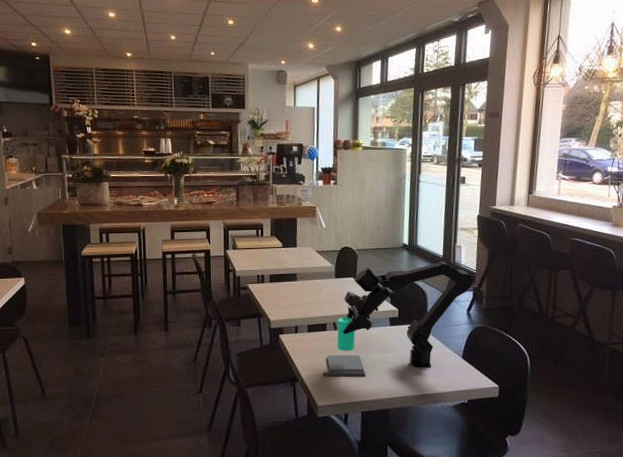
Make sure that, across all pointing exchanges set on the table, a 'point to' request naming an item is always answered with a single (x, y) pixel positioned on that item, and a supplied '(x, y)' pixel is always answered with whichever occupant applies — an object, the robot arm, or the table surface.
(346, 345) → the candle
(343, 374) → the dark grey bar
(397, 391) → the table surface
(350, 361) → the slate coaster
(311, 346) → the table surface
